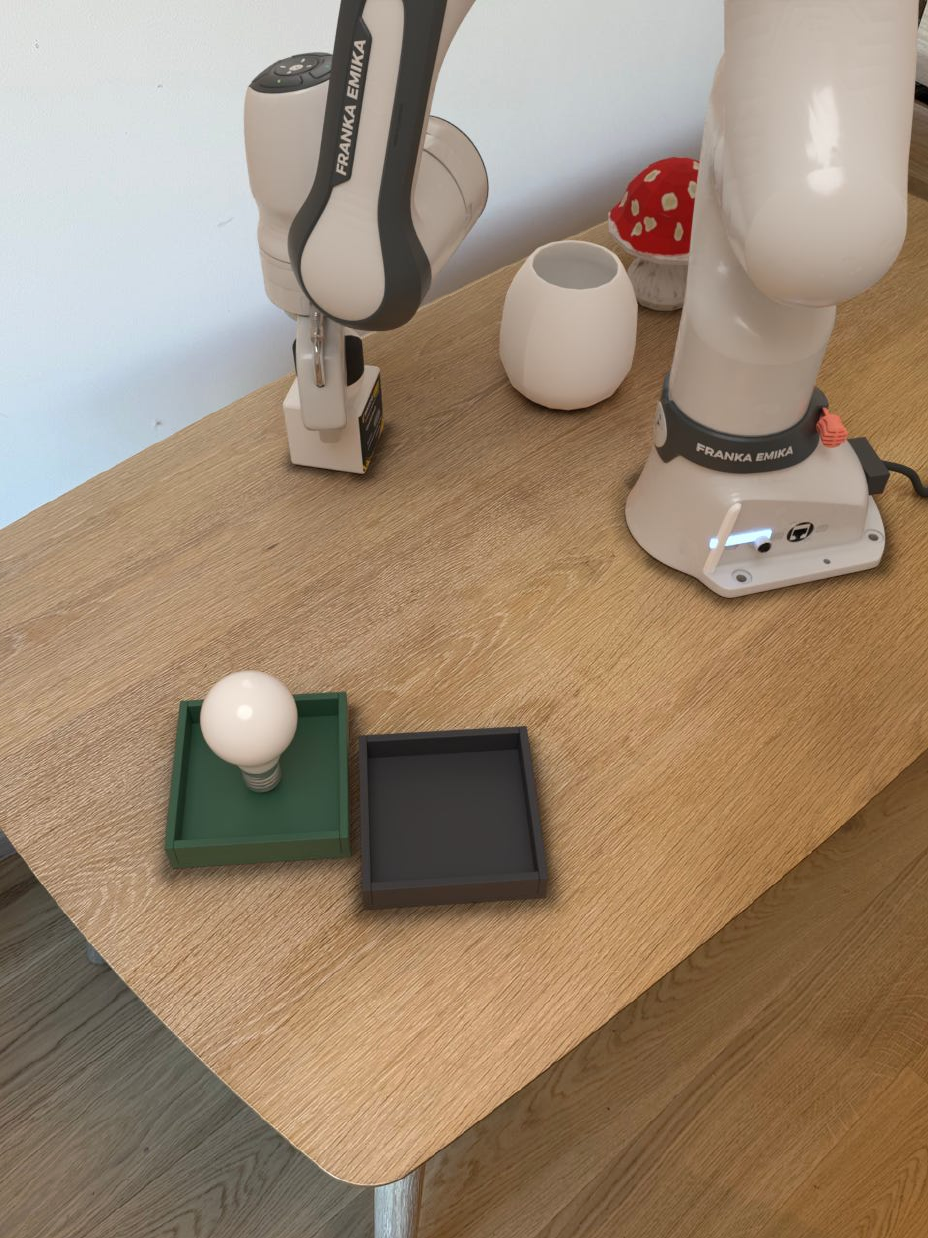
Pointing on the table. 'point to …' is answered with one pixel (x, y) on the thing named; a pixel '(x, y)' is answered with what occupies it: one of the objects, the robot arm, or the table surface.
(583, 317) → the white vase
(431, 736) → the tray
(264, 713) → the lightbulb
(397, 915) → the table surface
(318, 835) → the bulb tray
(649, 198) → the decorative mushroom
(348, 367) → the medicine bottle
